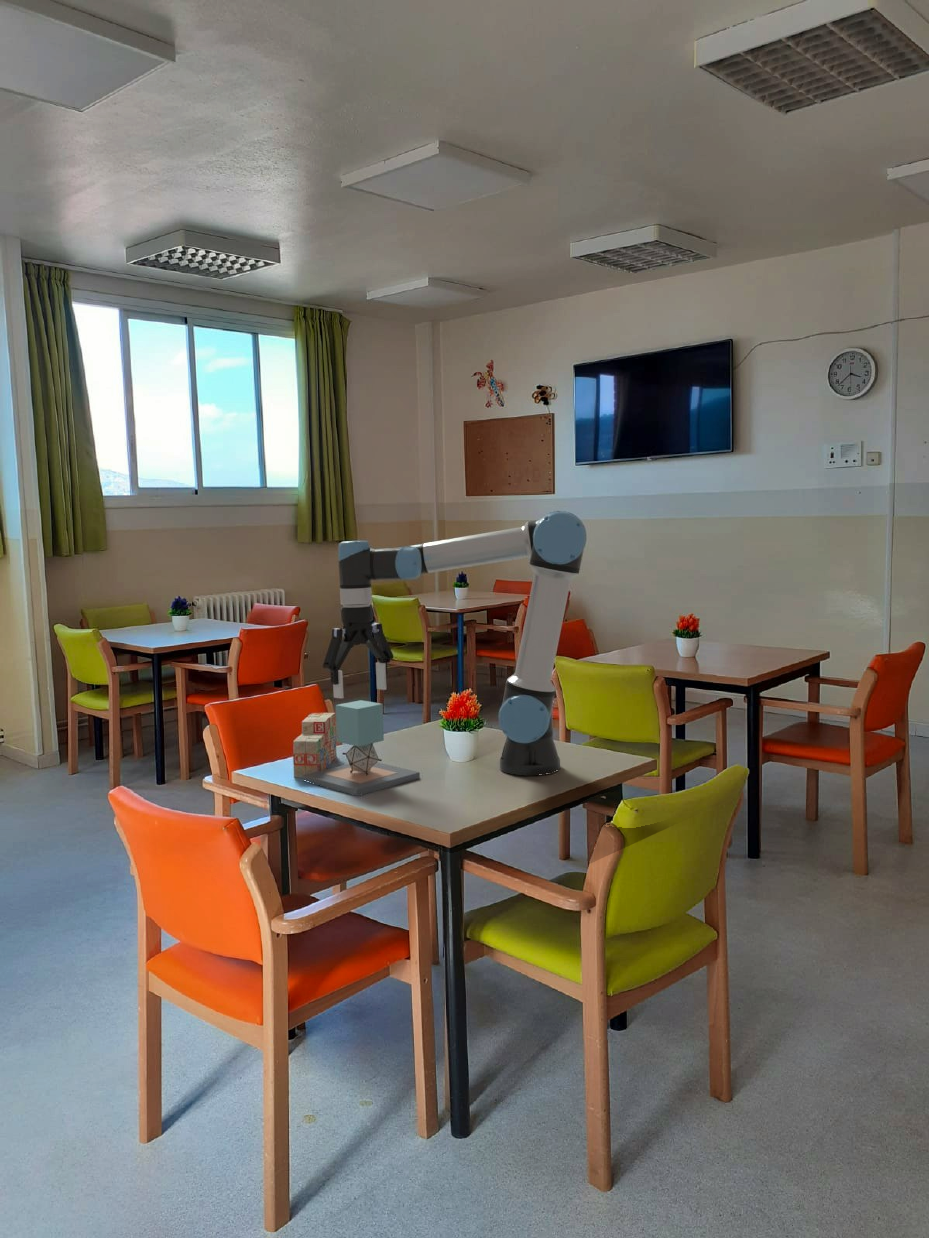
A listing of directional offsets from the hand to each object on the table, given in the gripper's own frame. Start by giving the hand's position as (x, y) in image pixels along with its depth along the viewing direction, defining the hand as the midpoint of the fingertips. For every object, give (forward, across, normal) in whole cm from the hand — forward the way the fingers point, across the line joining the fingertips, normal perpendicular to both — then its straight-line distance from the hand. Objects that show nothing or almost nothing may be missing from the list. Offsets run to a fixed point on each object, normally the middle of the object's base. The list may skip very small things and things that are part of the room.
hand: (360, 693), depth 231 cm
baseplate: (+21, 0, -1) cm, 21 cm away
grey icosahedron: (+20, 0, -1) cm, 20 cm away
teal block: (+12, 0, 0) cm, 12 cm away
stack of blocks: (+21, 0, -20) cm, 29 cm away
